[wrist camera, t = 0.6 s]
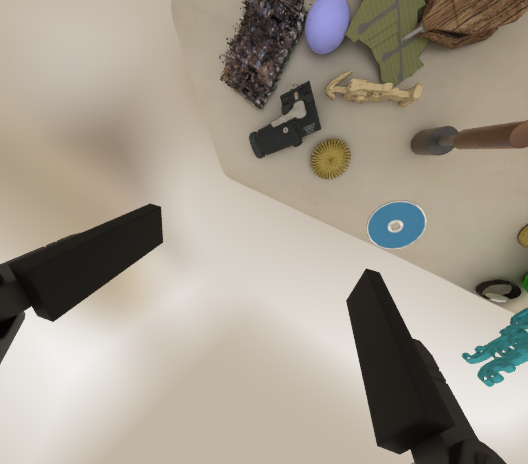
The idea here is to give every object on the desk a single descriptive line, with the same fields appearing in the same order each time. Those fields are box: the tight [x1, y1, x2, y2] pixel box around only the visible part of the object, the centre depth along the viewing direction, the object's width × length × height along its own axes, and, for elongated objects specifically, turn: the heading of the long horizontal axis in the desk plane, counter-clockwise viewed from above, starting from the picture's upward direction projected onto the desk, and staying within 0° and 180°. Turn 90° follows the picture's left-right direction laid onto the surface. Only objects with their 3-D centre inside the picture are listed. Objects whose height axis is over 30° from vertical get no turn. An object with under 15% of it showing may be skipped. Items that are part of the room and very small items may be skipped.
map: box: [345, 0, 430, 88], centre depth 30 cm, size 11×18×1 cm, turn 35°
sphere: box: [305, 0, 350, 54], centre depth 32 cm, size 7×7×7 cm
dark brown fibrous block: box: [219, 0, 312, 109], centre depth 35 cm, size 20×12×6 cm, turn 148°
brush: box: [411, 120, 528, 155], centre depth 28 cm, size 4×4×20 cm
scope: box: [249, 81, 321, 158], centre depth 38 cm, size 8×14×10 cm
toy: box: [326, 71, 423, 107], centre depth 34 cm, size 6×4×15 cm
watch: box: [476, 280, 521, 302], centre depth 43 cm, size 8×5×4 cm, turn 96°
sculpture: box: [311, 139, 351, 179], centre depth 40 cm, size 8×4×8 cm
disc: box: [367, 201, 426, 249], centre depth 44 cm, size 12×1×12 cm
